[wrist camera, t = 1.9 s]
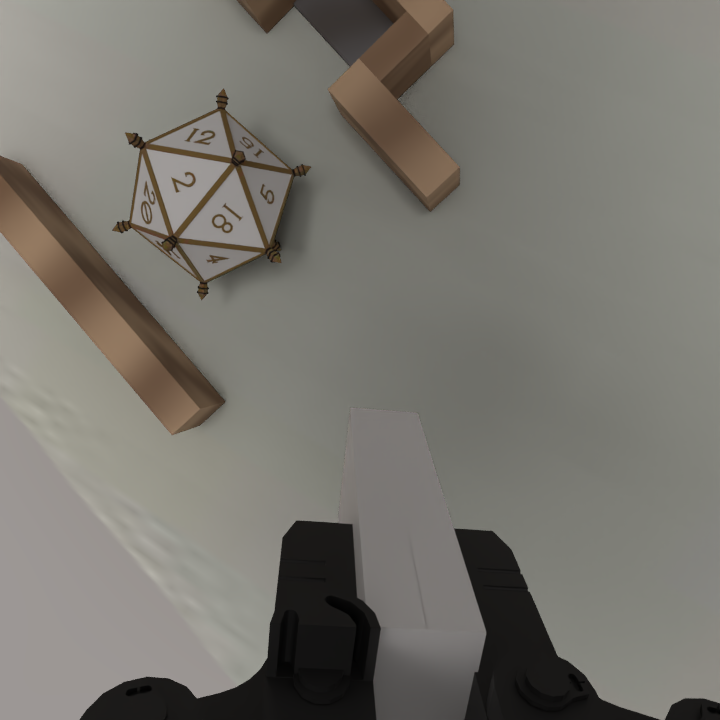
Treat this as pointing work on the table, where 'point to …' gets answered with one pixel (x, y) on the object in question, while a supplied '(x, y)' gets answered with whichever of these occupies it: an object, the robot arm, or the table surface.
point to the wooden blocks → (356, 104)
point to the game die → (209, 195)
